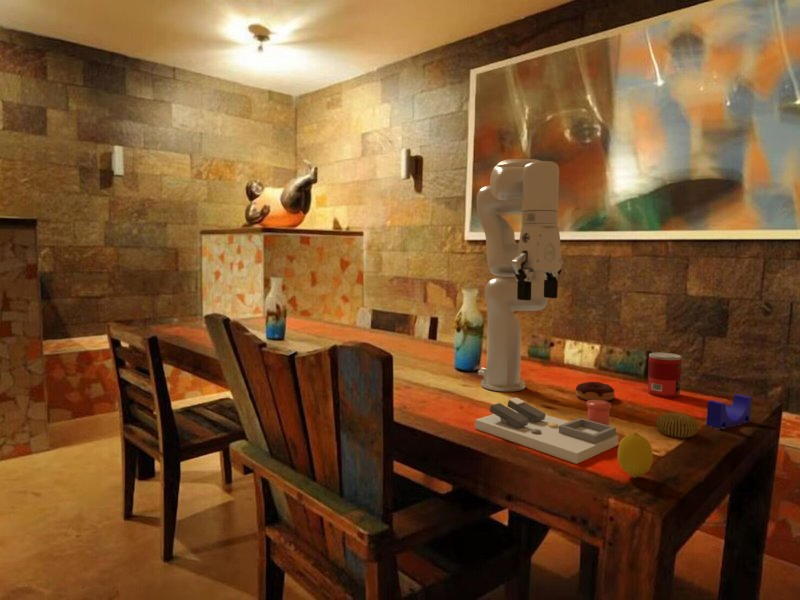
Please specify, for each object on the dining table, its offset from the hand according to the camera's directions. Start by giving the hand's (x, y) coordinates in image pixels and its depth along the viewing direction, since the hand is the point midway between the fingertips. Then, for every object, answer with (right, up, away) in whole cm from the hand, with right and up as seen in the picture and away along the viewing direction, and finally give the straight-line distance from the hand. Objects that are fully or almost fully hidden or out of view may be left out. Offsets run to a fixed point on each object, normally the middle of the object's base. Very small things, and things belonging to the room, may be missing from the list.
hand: (537, 298), depth 115 cm
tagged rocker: (-3, -26, +1) cm, 26 cm away
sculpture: (+29, -29, -3) cm, 42 cm away
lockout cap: (+13, -29, 0) cm, 32 cm away
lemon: (+10, -31, -25) cm, 41 cm away
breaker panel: (0, -29, -5) cm, 30 cm away
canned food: (+42, -26, +29) cm, 57 cm away
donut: (+22, -27, +25) cm, 43 cm away
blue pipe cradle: (+44, -29, +5) cm, 53 cm away
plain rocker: (-7, -27, -3) cm, 28 cm away
